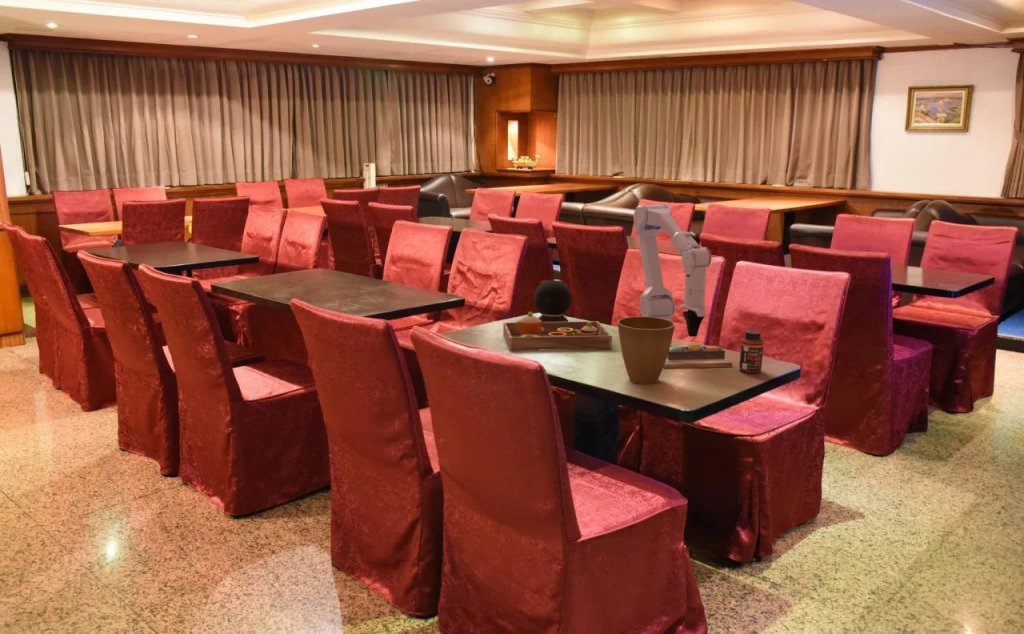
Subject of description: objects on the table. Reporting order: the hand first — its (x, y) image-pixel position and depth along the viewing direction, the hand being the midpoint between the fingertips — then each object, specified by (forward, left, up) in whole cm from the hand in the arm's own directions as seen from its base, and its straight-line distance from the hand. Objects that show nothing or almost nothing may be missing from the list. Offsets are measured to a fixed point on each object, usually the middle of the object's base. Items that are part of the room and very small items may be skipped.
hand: (692, 336), depth 243 cm
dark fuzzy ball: (-55, -33, -8) cm, 65 cm away
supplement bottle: (+12, +13, -8) cm, 19 cm away
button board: (0, 0, -7) cm, 7 cm away
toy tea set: (-26, -36, -8) cm, 45 cm away
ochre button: (0, +1, -5) cm, 5 cm away
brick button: (0, +6, -6) cm, 8 cm away
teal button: (0, -5, -6) cm, 8 cm away
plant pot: (+19, -19, -8) cm, 28 cm away
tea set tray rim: (-27, -36, -7) cm, 46 cm away
